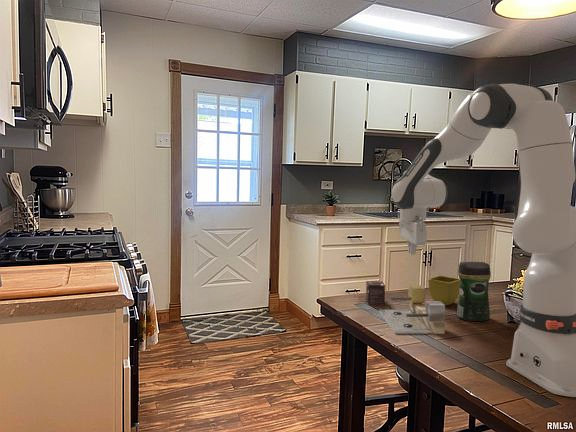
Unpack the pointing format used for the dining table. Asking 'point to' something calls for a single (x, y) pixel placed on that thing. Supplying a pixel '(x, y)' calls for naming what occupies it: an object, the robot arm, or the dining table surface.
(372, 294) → the box
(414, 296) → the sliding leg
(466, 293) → the coffee jar
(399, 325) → the hole plate
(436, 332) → the beam
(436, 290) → the flower pot
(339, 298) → the dining table surface
